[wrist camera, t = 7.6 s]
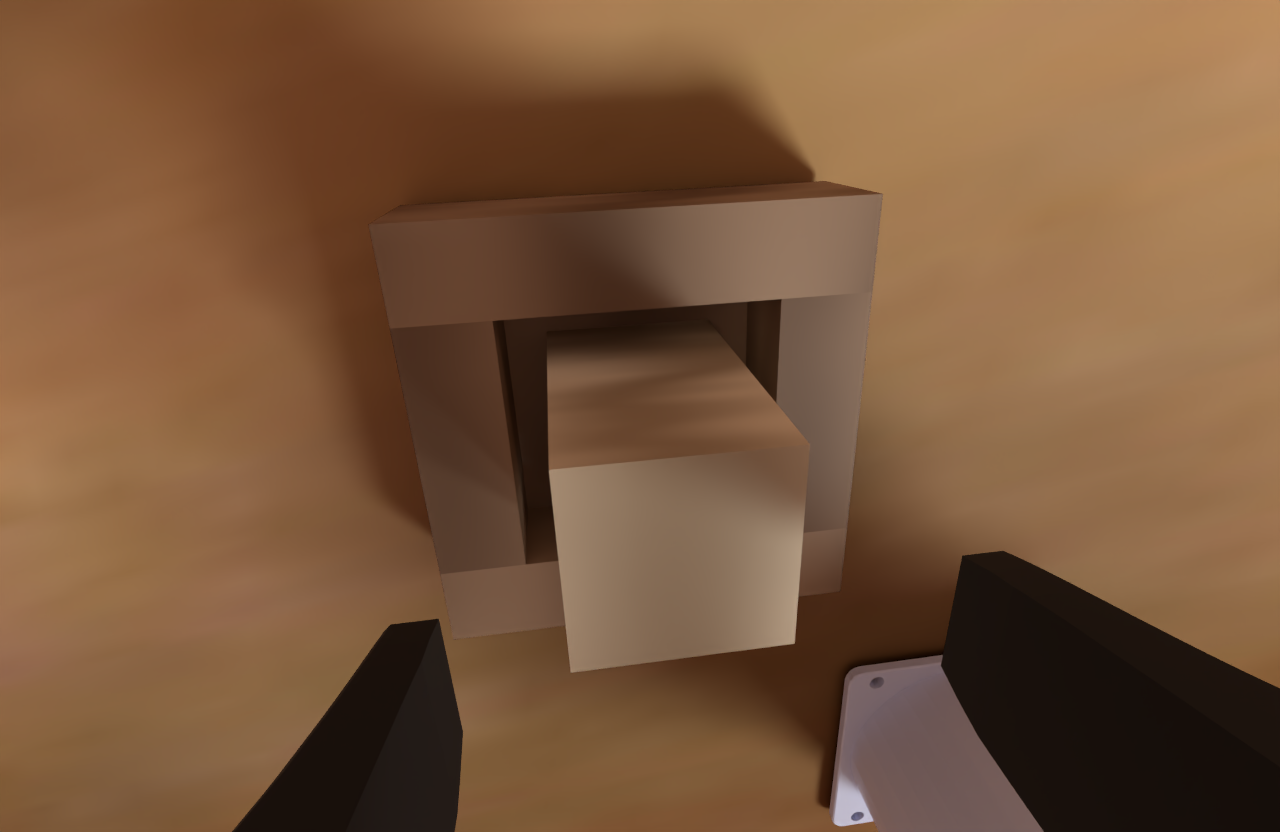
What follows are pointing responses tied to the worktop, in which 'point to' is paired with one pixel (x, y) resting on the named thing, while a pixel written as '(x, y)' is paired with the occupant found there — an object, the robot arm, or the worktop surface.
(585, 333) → the birch post
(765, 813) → the worktop surface
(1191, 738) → the robot arm
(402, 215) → the walnut holder
